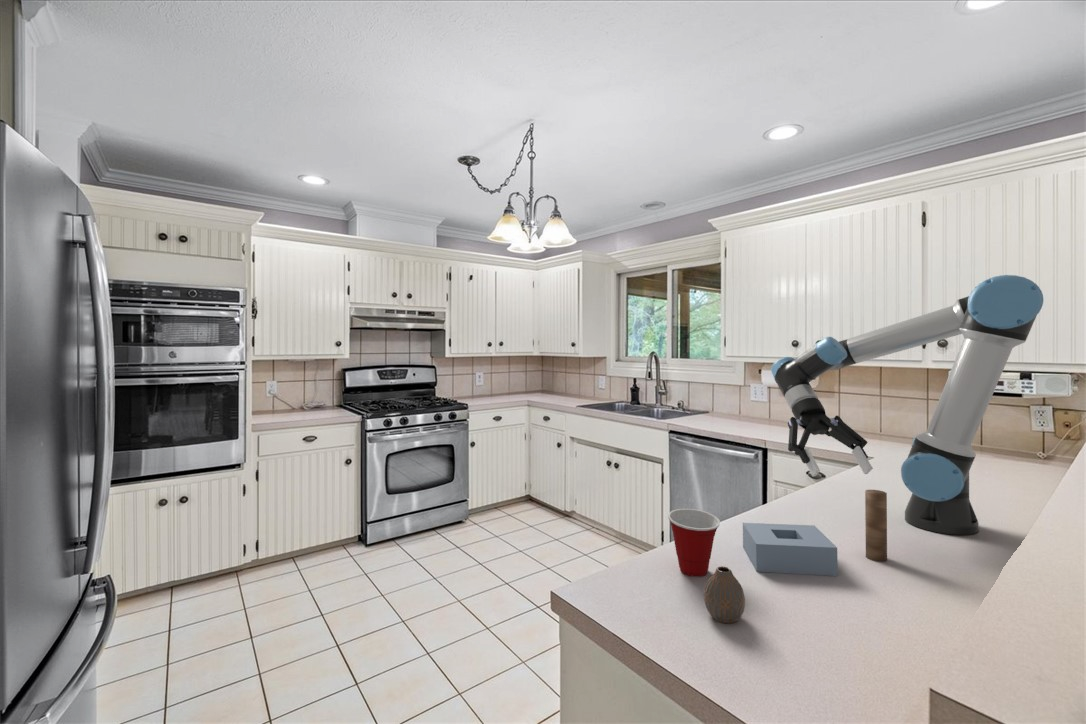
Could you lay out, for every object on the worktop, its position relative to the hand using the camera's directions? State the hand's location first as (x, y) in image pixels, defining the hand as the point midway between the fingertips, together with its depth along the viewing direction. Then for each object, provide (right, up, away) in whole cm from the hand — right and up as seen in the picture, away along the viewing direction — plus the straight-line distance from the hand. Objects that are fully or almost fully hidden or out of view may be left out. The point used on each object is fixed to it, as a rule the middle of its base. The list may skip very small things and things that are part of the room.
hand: (842, 472), depth 120 cm
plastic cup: (-41, -18, -14) cm, 47 cm away
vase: (-41, -19, -33) cm, 56 cm away
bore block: (-19, -18, -10) cm, 28 cm away
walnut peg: (+1, -17, -10) cm, 20 cm away
